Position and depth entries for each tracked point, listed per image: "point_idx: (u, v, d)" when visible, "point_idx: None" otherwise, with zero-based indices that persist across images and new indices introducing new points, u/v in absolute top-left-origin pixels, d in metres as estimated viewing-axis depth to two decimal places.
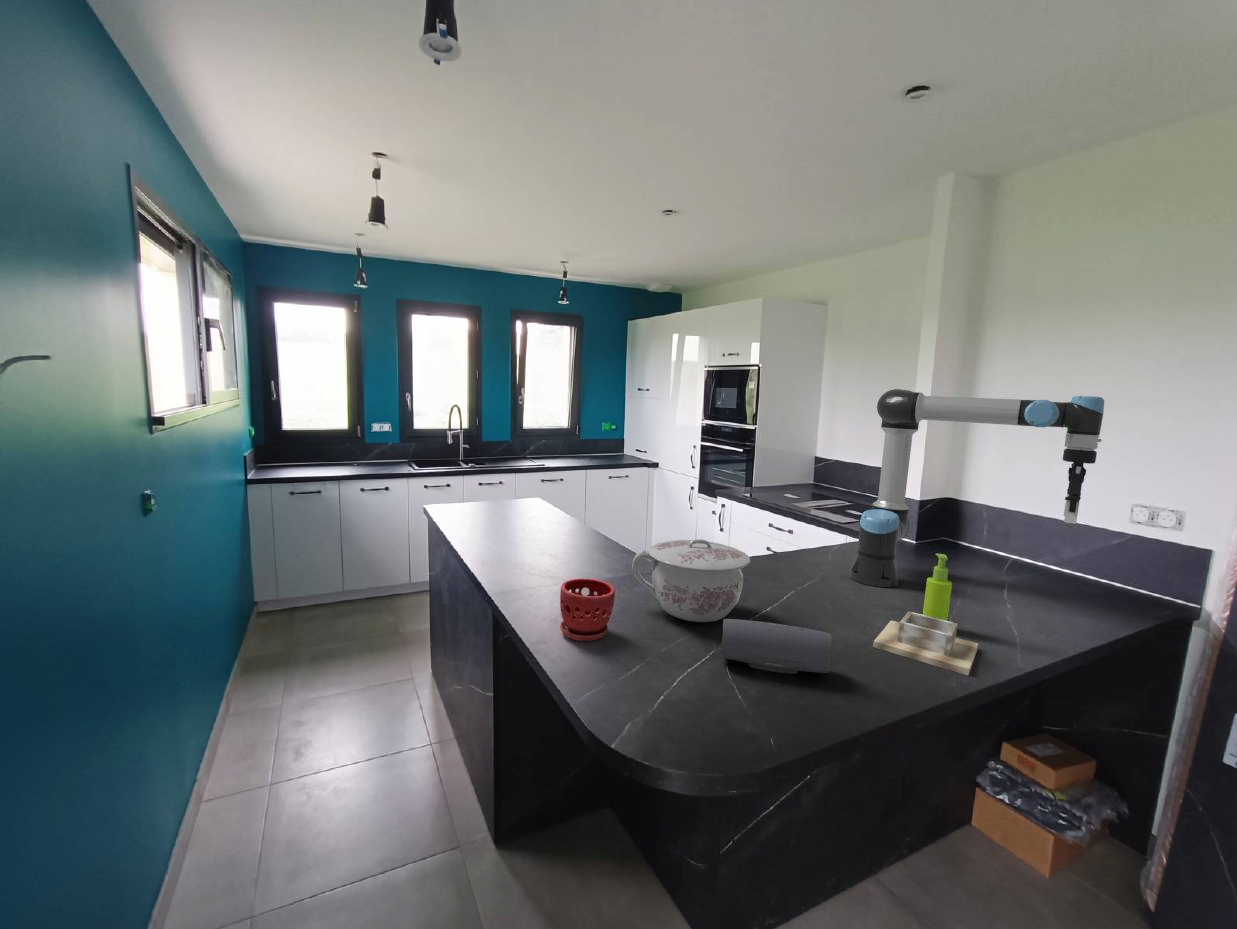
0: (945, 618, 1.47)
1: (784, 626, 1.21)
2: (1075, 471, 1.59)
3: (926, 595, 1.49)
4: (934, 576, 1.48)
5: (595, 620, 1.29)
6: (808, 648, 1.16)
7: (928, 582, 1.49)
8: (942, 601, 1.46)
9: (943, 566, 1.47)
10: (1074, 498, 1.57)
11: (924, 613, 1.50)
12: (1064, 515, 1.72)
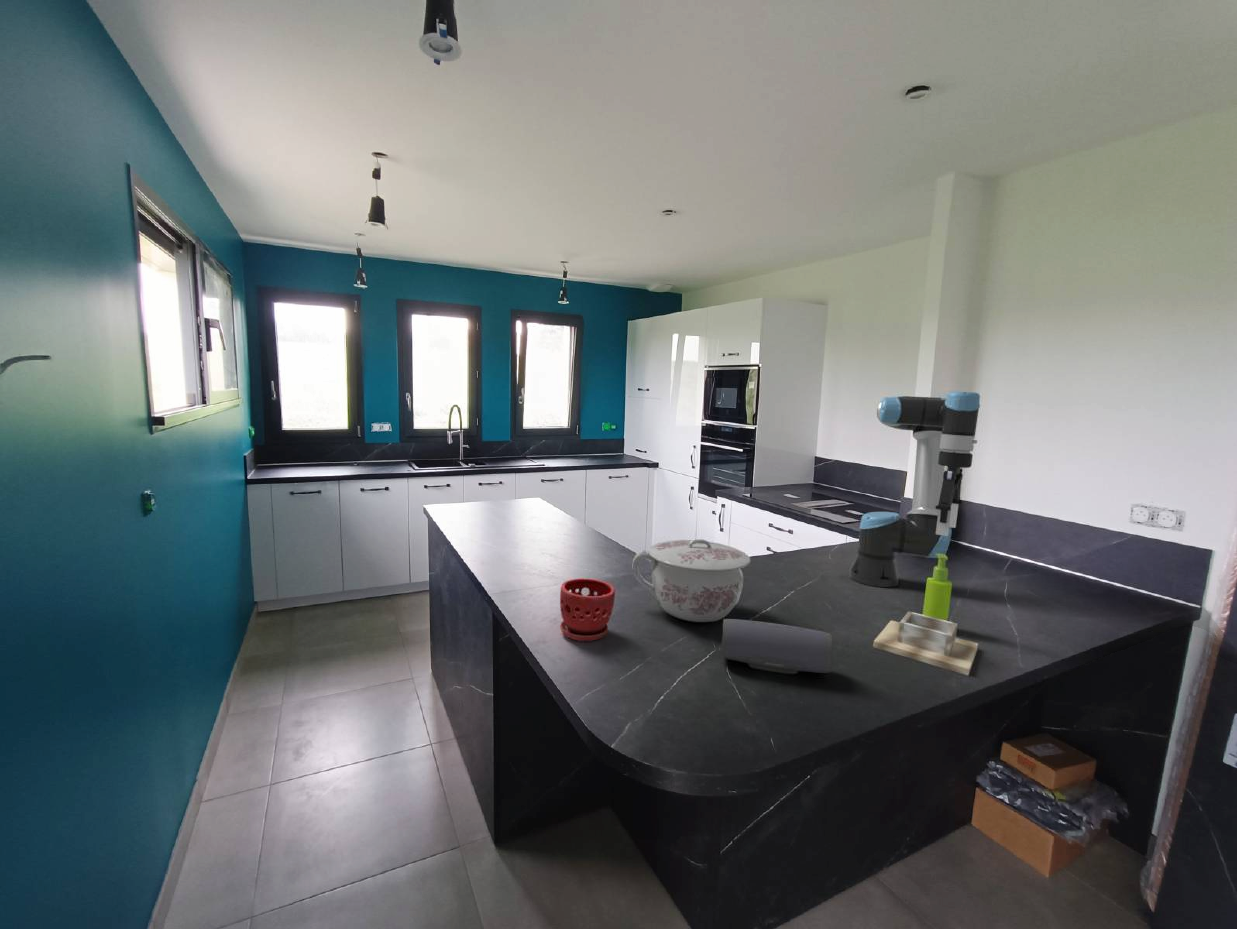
0: (945, 618, 1.47)
1: (784, 626, 1.21)
2: (946, 476, 1.41)
3: (926, 595, 1.49)
4: (934, 576, 1.48)
5: (595, 620, 1.29)
6: (808, 648, 1.16)
7: (928, 582, 1.49)
8: (942, 601, 1.46)
9: (943, 566, 1.47)
10: (943, 507, 1.39)
11: (924, 613, 1.50)
12: None
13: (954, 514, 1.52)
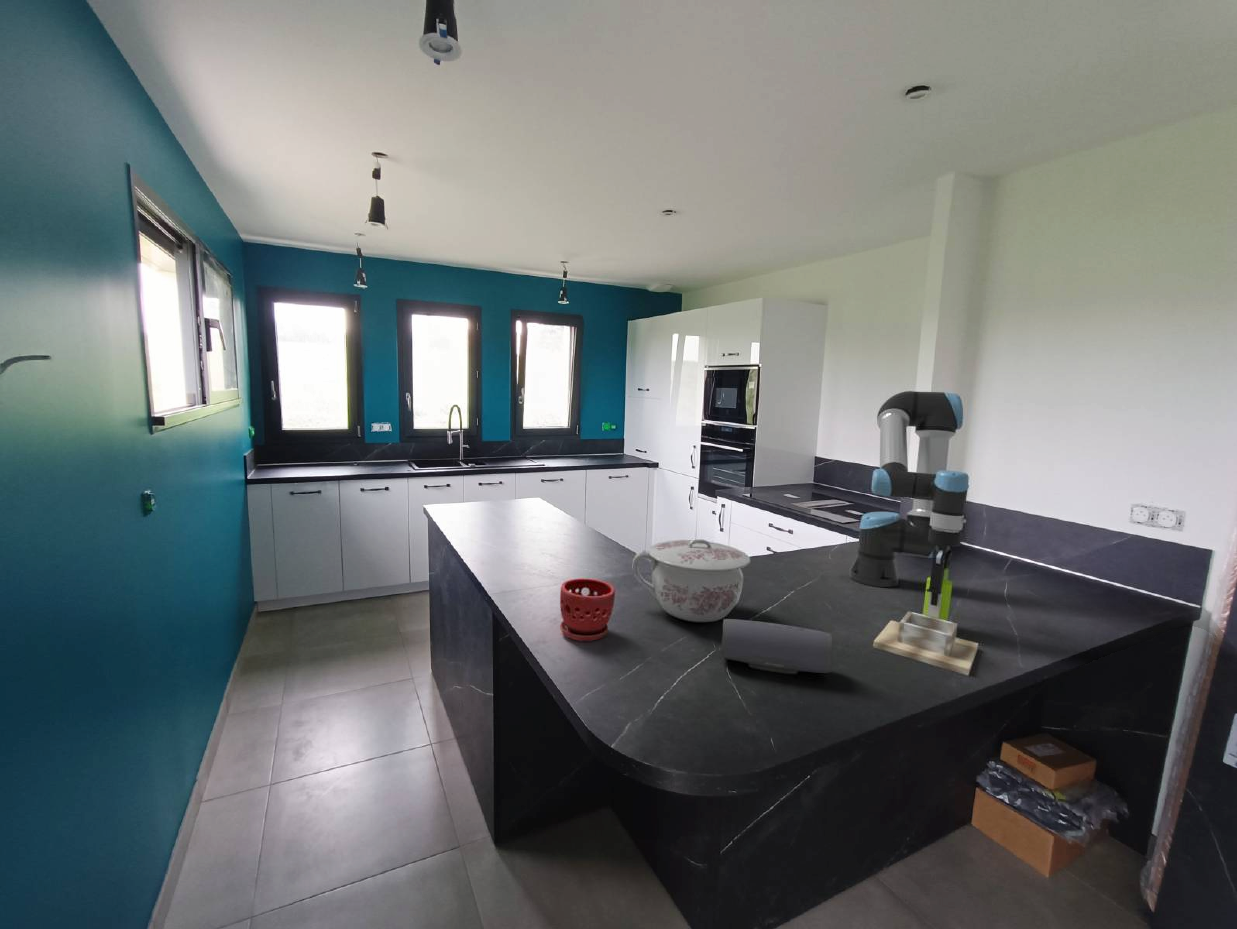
0: (945, 618, 1.47)
1: (784, 626, 1.21)
2: (935, 561, 1.44)
3: (926, 595, 1.50)
4: None
5: (595, 620, 1.29)
6: (808, 648, 1.16)
7: (928, 582, 1.49)
8: (943, 601, 1.46)
9: None
10: (934, 591, 1.44)
11: (924, 613, 1.50)
12: None
13: None
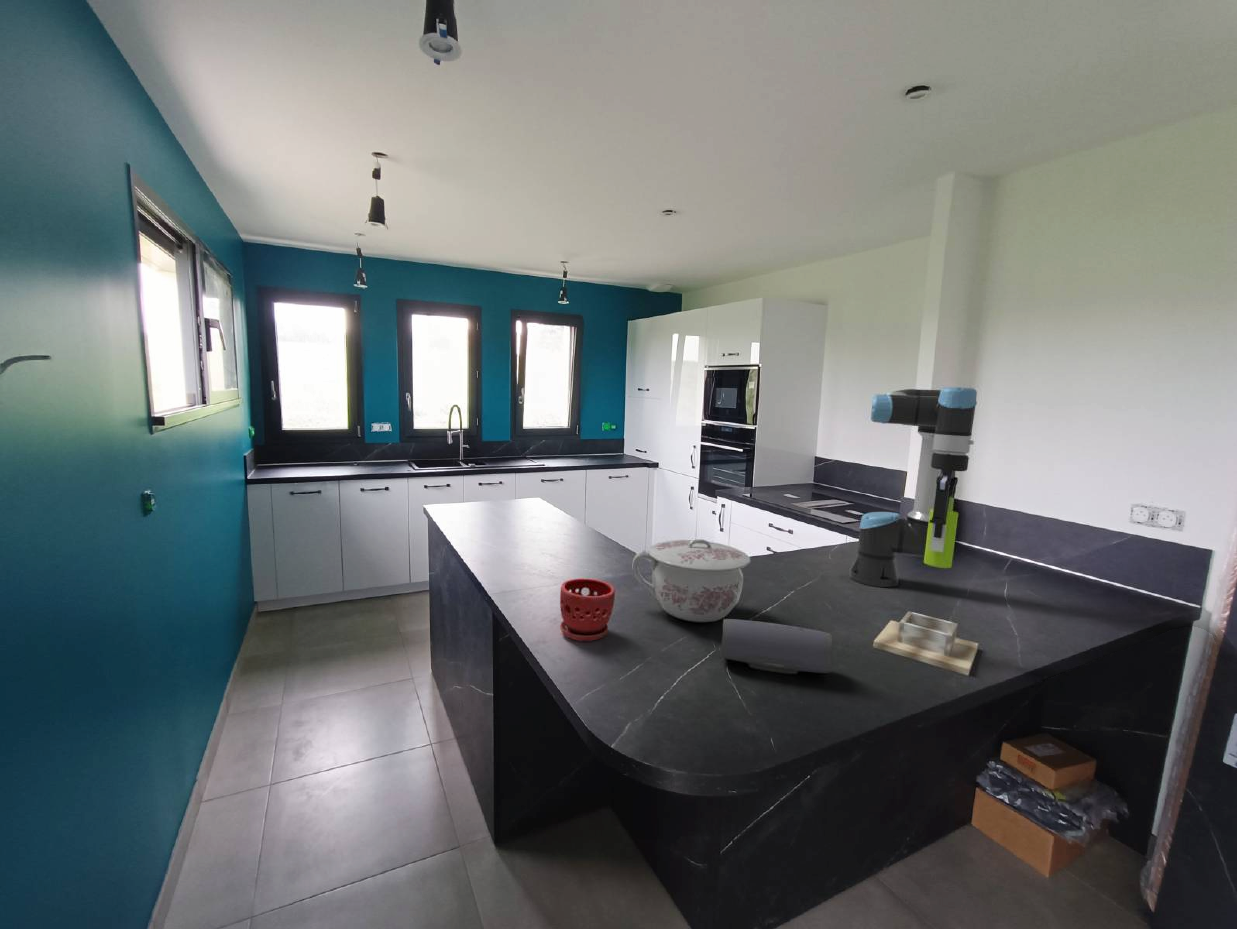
0: (950, 552, 1.31)
1: (784, 626, 1.21)
2: (939, 487, 1.28)
3: (929, 528, 1.34)
4: None
5: (595, 620, 1.29)
6: (808, 648, 1.16)
7: (931, 513, 1.33)
8: (948, 533, 1.31)
9: None
10: (938, 521, 1.28)
11: (927, 548, 1.34)
12: None
13: None
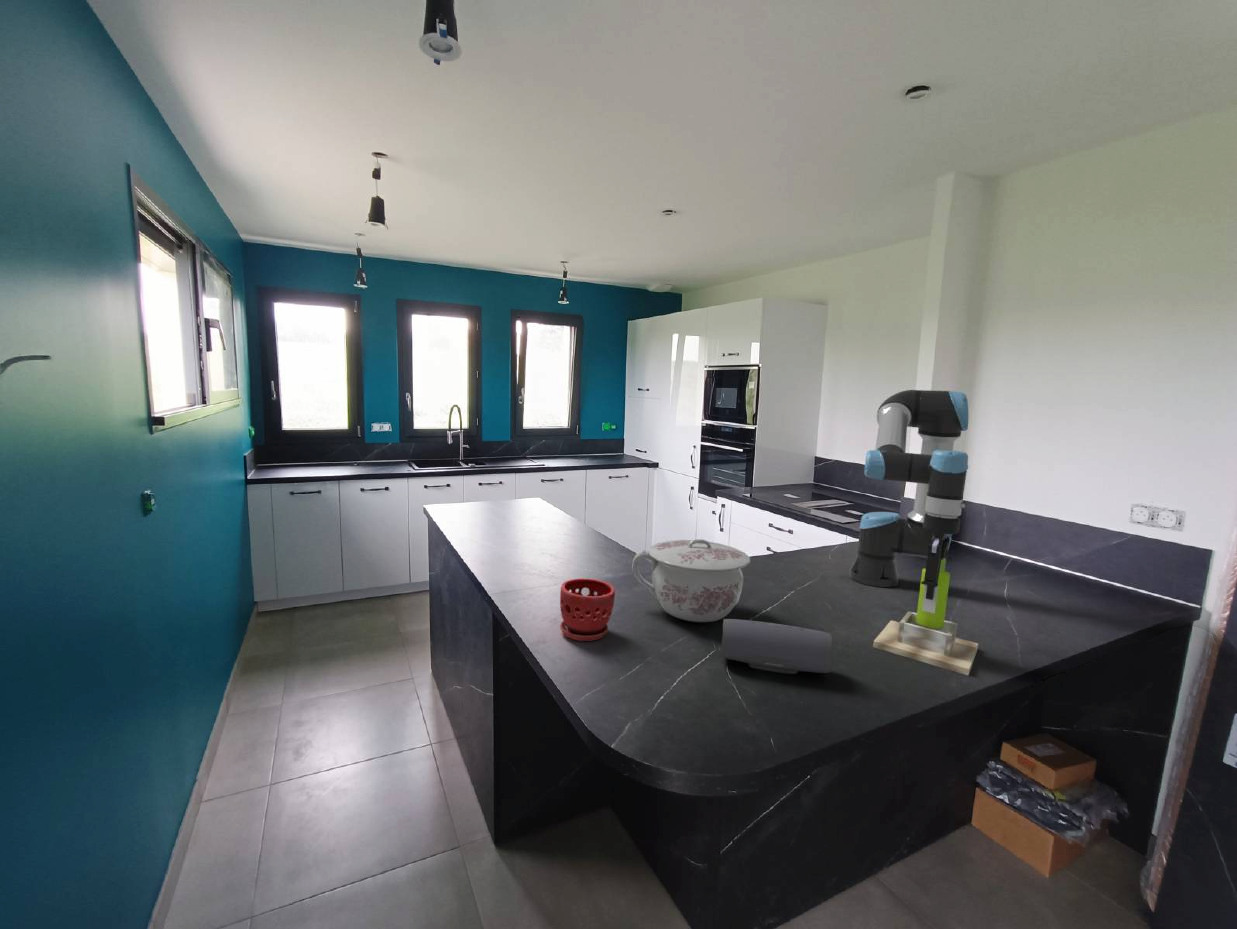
0: (942, 613, 1.33)
1: (784, 626, 1.21)
2: (931, 550, 1.29)
3: (921, 588, 1.35)
4: None
5: (595, 620, 1.29)
6: (808, 648, 1.16)
7: (923, 573, 1.34)
8: (939, 595, 1.32)
9: None
10: (929, 584, 1.30)
11: (919, 608, 1.35)
12: None
13: None
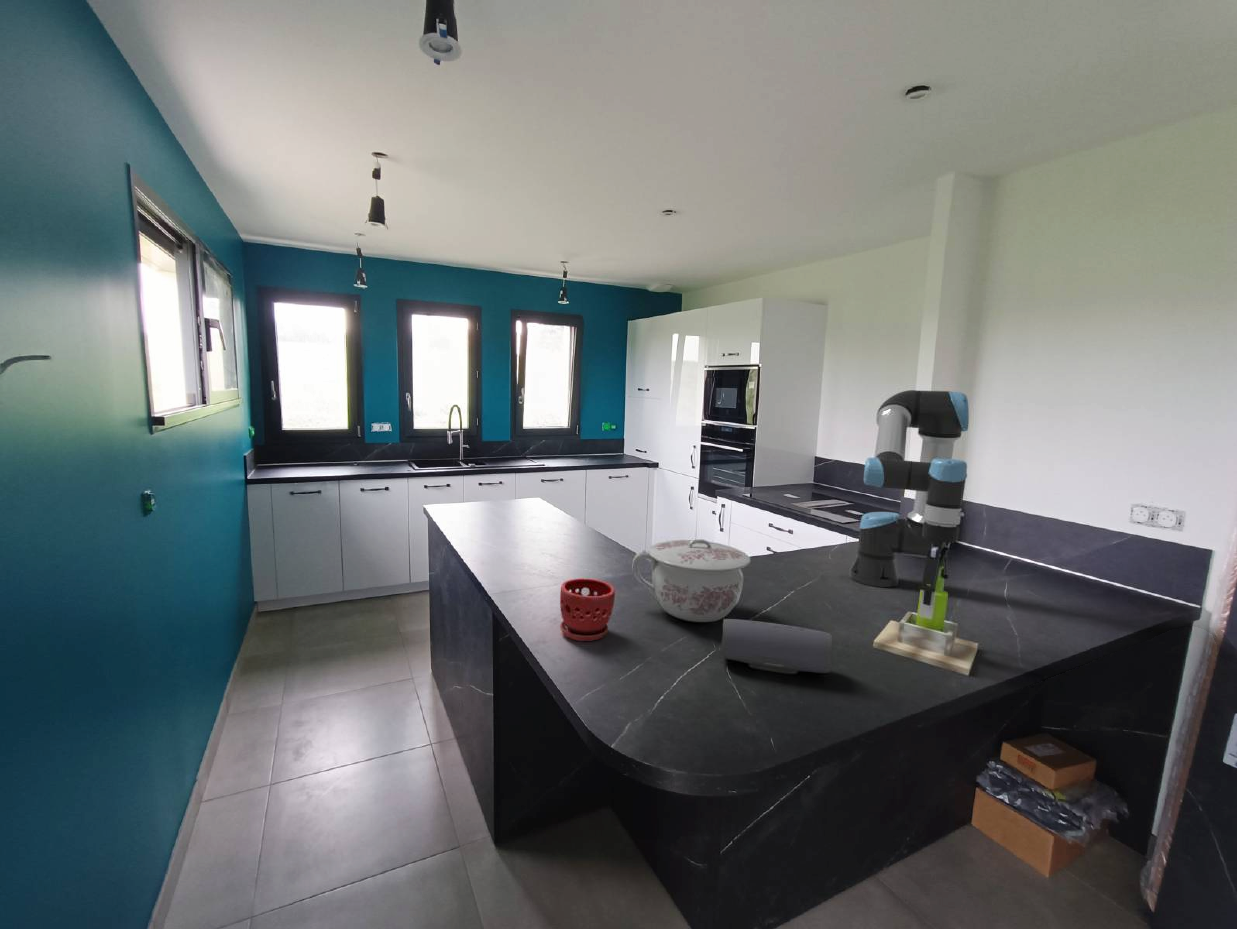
0: None
1: (784, 626, 1.21)
2: (930, 554, 1.29)
3: (919, 607, 1.36)
4: None
5: (595, 620, 1.29)
6: (808, 648, 1.16)
7: None
8: (937, 614, 1.33)
9: (938, 575, 1.34)
10: (927, 589, 1.27)
11: None
12: None
13: None
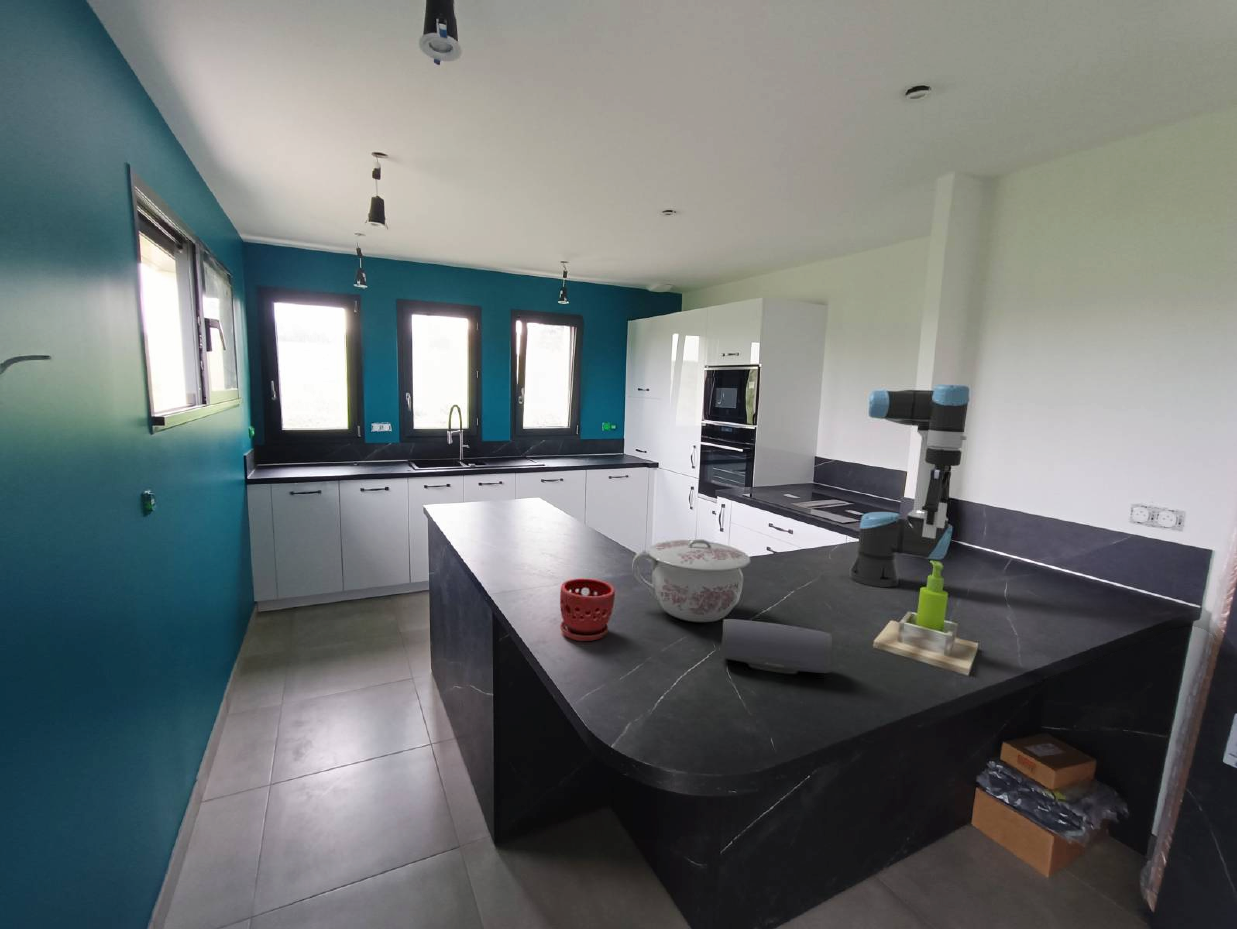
0: None
1: (784, 626, 1.21)
2: (933, 475, 1.32)
3: (919, 607, 1.36)
4: (928, 586, 1.35)
5: (595, 620, 1.29)
6: (808, 648, 1.16)
7: (921, 592, 1.35)
8: (937, 614, 1.33)
9: (938, 575, 1.34)
10: (930, 508, 1.31)
11: None
12: None
13: (942, 514, 1.44)
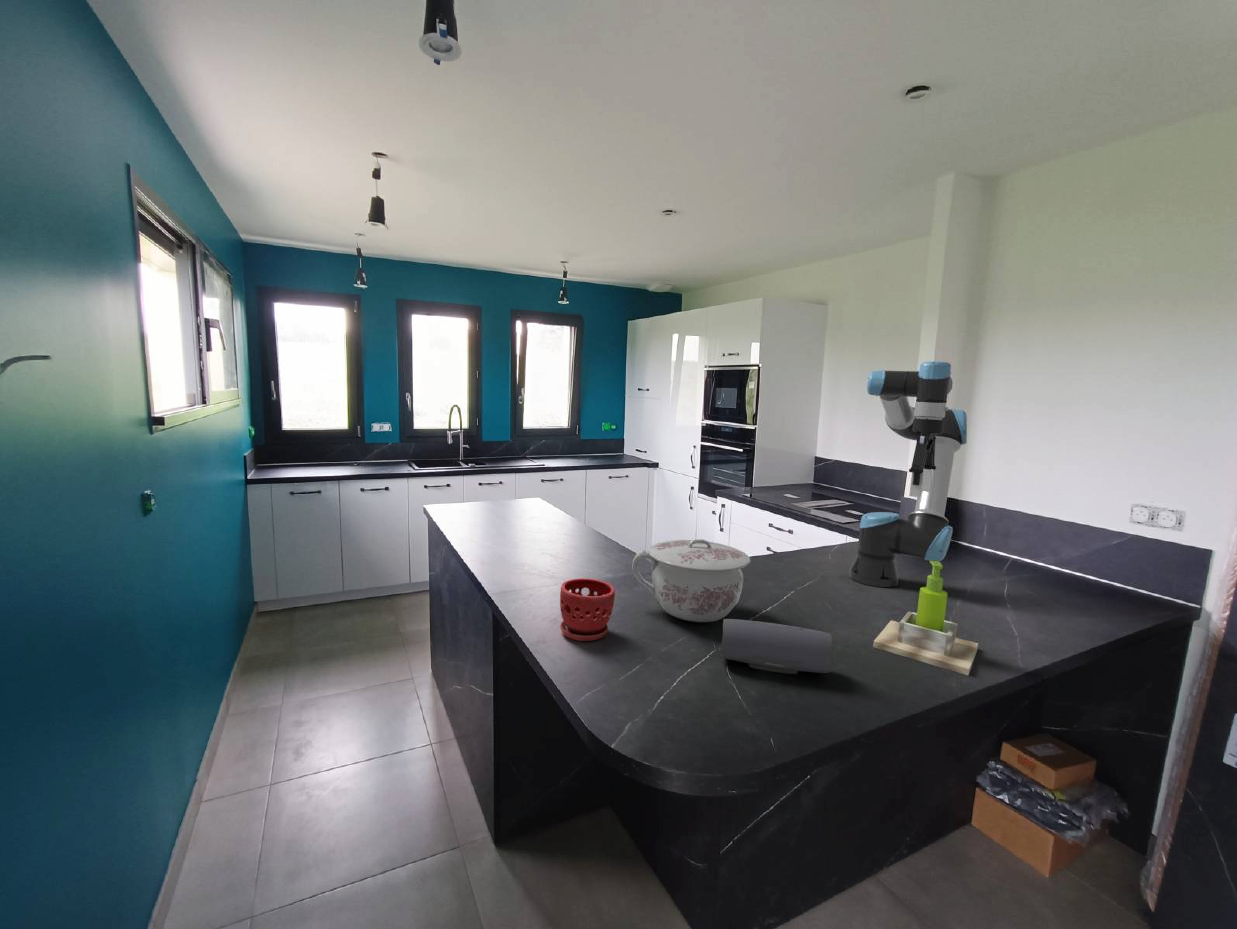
0: None
1: (784, 626, 1.21)
2: (919, 441, 1.49)
3: (919, 607, 1.36)
4: (928, 586, 1.35)
5: (595, 620, 1.29)
6: (808, 648, 1.16)
7: (921, 592, 1.35)
8: (937, 614, 1.33)
9: (938, 575, 1.34)
10: (916, 470, 1.47)
11: None
12: None
13: (928, 479, 1.60)
